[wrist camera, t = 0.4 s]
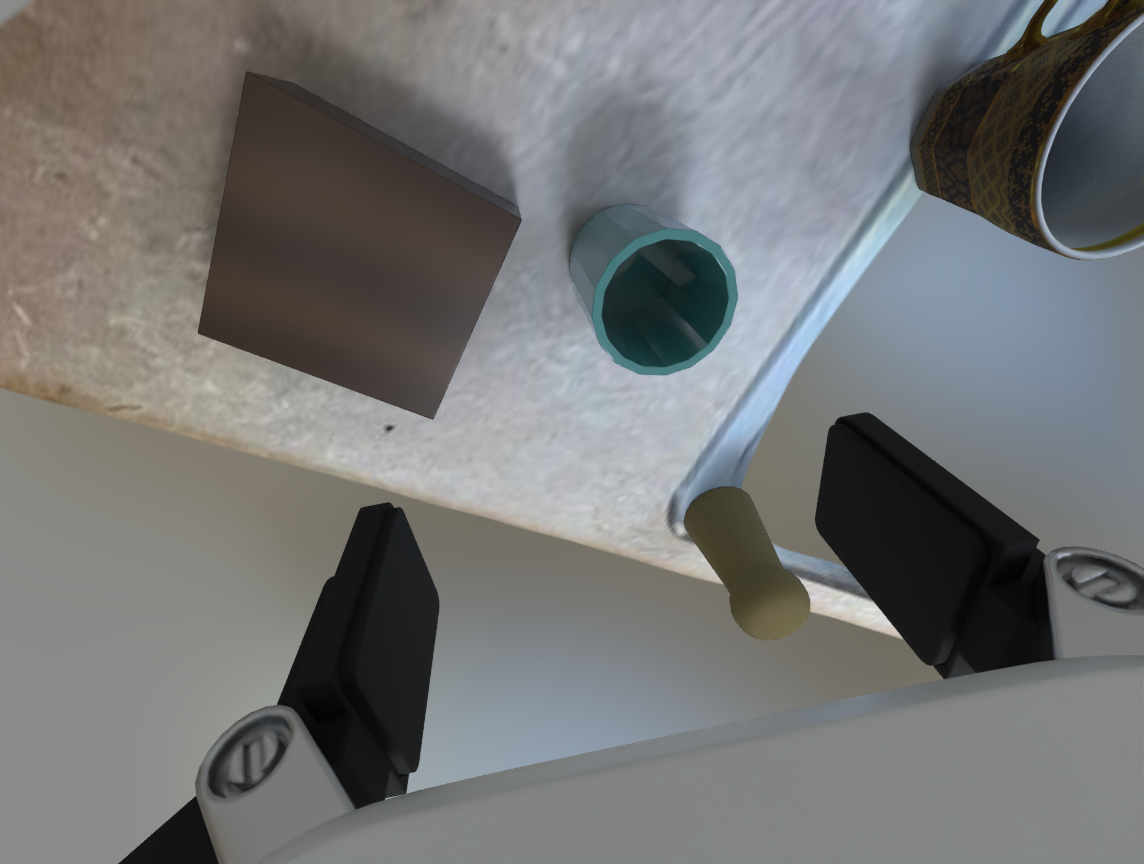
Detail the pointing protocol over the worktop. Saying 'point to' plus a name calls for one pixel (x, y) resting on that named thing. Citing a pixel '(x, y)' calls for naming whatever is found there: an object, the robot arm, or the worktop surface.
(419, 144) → the worktop surface
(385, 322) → the plate
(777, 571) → the olive pepper mill
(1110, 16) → the ceramic cup
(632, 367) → the teal cup
